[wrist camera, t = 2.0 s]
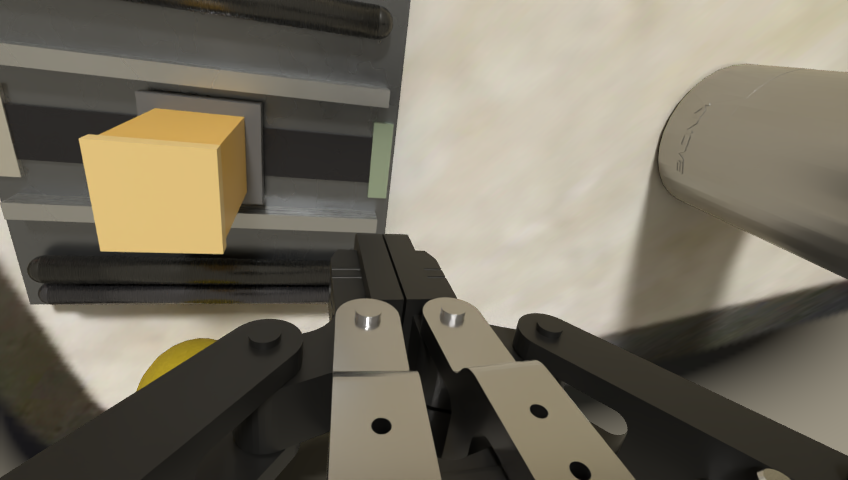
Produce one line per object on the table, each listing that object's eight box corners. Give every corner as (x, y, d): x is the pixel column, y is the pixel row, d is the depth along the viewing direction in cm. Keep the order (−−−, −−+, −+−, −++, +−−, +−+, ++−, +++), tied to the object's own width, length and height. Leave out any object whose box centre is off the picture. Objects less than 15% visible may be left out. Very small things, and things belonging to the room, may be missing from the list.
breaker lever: (262, 102, 20) (236, 135, 14) (264, 198, 22) (241, 266, 16) (141, 89, 19) (51, 119, 12) (155, 192, 21) (82, 264, 14)
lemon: (250, 384, 29) (228, 497, 22) (158, 378, 27) (102, 498, 20) (262, 318, 27) (243, 418, 20) (164, 306, 25) (105, 412, 18)
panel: (408, -30, 21) (420, -38, 18) (374, 290, 28) (379, 316, 25) (-62, -122, 16) (-134, -151, 13) (46, 288, 23) (13, 320, 21)
